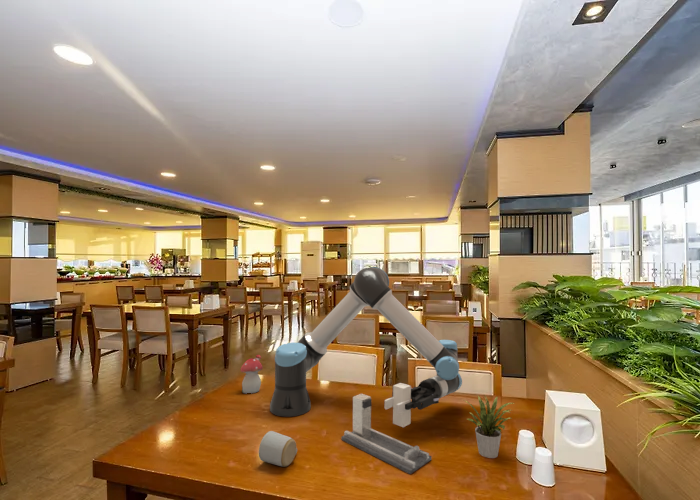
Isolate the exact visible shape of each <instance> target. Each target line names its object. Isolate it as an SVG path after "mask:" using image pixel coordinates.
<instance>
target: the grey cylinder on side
mask: <svg viewBox="0 0 700 500" xmlns="http://www.w3.org/2000/svg"><path fill="white" fill-rule="evenodd" d="M258 447H259V448H258V457H259V459H260V461H262V462H265V463H268V464H272V465H275V466H278V467H283V468H284V467H288V466H289V465H291V463H292V462H293V461H294V459H295V456H296V455H297V452H298V447H297V442H296V440H295V439H294V438H292V437H290V436H288V435H286V434H285V435H284V434H281V433H279V432H276V431H273V430H269V431H267V432H266V433H265V434H264V435H263V437H262V439H261V441H260V443H259V446H258Z"/></svg>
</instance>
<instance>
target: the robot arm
mask: <svg viewBox="0 0 700 500" xmlns="http://www.w3.org/2000/svg"><path fill="white" fill-rule="evenodd" d="M365 307H370V308H371V309H372V310H377V311H378V312H379V313H380V315H382V316H383V317H384V318H385V319H386V320H387V321H388V322H389V323H390V324H391V325H392V326H393V327H394V328H395V329H396V330H397V332H399V333H400V334H401V335H402V336H403V337H404V338H405V339H406V340H407V341H408V342H409V343H410V345H412V347H414V349H416V350H417V352H419V354H421V356H422V357H423V358H424V359H425V360H426V361H427V362H428V363H429V364H430V366H432V367H433V368H434V370H435V372H436V375H434V376H432V377H431V376H430V377H428V378H427V379H424V380H421V381H420V382H419V383H418V386H414V387H411V400H410V399H408V400H406V401H403V402H401V403H399V404H396V413H397V414H400V413H402V412H404V411H406V410H409V409H411V410H412V409H417V410H420V411H421V410H423V409H425V408H427V407H430V406H432V405H435V404H439V401H440V400H439V399H441V398H443V397H445V396H448V395H450V394H454V393H455V392H456V391H458V390H459V389H461V387H462V386H463V379H462V376H461V374H460V373H459V371H460V363H459V359H458V351H459V350H458V344H457V342H456V341H455V340H452V339H451V340H450V339H440V340H438V339H437V338H436V337H435V336H434V335H433V334H432V333H431V332H430V331H429V330H428V329H427V328H426V327H425V326H424V324H423V323H421V322H420V320H418V319H417V318H416V316H414V314H412V313H411V312H410V311H409V310H408V309H407V308H406V307H405V305H403V304H402V302H400V300H398V299H397V298H396V297H395V296H394V295H393V290H392V289H391V288H390V279H389V276H388V274H387V272H385V271H384V270H383V269H382V268H380V267H378V266H377V267H376V266H370V267H365V268H362V269H360V270H359V271H357V272H356V274H355V276H354V280H353V282H352V283H351V284H350V285H349V292H347V294H346V295H345V296H344V297H343V298H342V299H341V300H340V301H339V303H338V304H336V306H334V307H333V309H331V311H330V312H329V313H328V314H327V315H326V317H324V318H323V320H322V321H321V322H320V323H319V324H318V325H317V326H316V327H315V328H314V329H313V330H312V331H311V332H306V333H305V334H304V335H302V337H300V338H299V340H298V341H297V342H287V343H283V344H280V346H278V347H277V348H276V350H275V356H274V375H275V376H274V390H273V394H272V397H271V401H270V403H269V412H270V413H271V414H273V415H275V416H277V417H283V418H284V417H286V418H288V417H297V416H301V415H304V414H307V413H308V412H309V411H310V410H311V407H312V406H311V405H312V404H311V403H312V402H311V399H310V395H309V392H308V388H307V372H309V371H310V370H311V369H312V368H314V367H315V366H317V365H318V364H319V362H320V360H321V359H323V357H324V356H325V354H326V353H327V352H328V351H327V350H328V349H327V348H328V346H329V345H330V344H331V343H332V342H333V341H334V340H335V339H336V338H337V337H338V336H339V335H340V333H342V331H343V330H344V329H345V328H347V326H348V325H350V323H351V322H352V321H353V320H354V319H355V318H356V317H357V315H358V314H360V312H361V311H362V310H363V309H364V308H365ZM391 395H392V397H389V398H386V399H384V409H385V410H388V409H391V408H393V391H392V394H391Z"/></svg>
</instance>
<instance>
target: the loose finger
mask: <svg viewBox="0 0 700 500" xmlns="http://www.w3.org/2000/svg"><path fill="white" fill-rule="evenodd" d="M411 388H412V385H409V384H406V383H402V382H398V383H396V384H393V385H392V392H393V407H392V424H393V425H396V426H399V427H402V428H405V427H406V426H409V425H410V424H411V422H412V420H411V419H412V418H411V416H412V412H411V410H412V408H411V409H409V410H406V411H404V412H402V413H400V414H397V413H396V404H399V403H401V402H403V401H406V400H408V399H410V400H411V401H412V399H411Z"/></svg>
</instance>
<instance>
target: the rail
mask: <svg viewBox="0 0 700 500" xmlns="http://www.w3.org/2000/svg"><path fill="white" fill-rule="evenodd" d="M341 441H342V442H344V443H346V444H348V445H351V446H353V447H355V448H357V449H358V450H361V451H363V452H365V453H367V454H368V455H371V456H373V457H374V458H377V459H379V460H381V462H382V461H383V462H385V463H386V464H388V465H391V466H393V467H395V468H396V469H399V470H400V471H403V472H404V473H406V474H408V475H411V474H413V473H414V472H416V471H417V470H419V469H420V468H421V467H422V468H423V466H425V465H426V464H428V463H429V462H430V461H432V455H430V453H429V452H427V451H424V450H422V449H420V446H418V445H414V446H413V445H410V444H408V443H406V442H403V441H402V440H399V439H396V438H394V437H391V436H390V435H387V434H385V433H383V432H381V431H377V430H375V429H373V428H372V396H370V395H367V394H363V393H359V394H357V395H354V396H352V431H349V430H345V431H344V433H343V435H342V436H341Z"/></svg>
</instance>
